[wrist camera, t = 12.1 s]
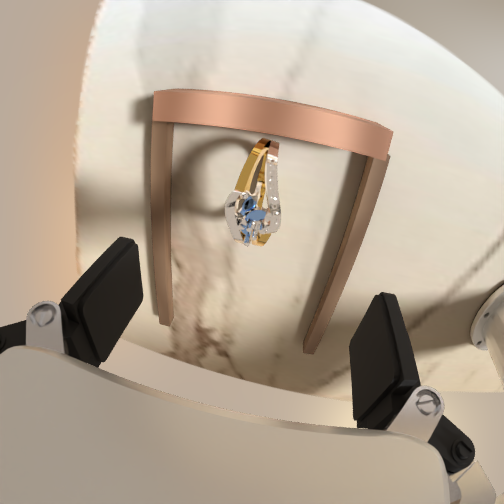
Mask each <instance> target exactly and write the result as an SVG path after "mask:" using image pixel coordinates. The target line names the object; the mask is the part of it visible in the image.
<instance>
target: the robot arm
mask: <svg viewBox="0 0 504 504" xmlns="http://www.w3.org/2000/svg"><path fill="white" fill-rule="evenodd" d="M142 300H143V288H142V280H141V271H140V261H139V251H138V245H137V244H135V241H134V240H133V239H129V238H125V237H119V238H118V239H117V240H116V241H115V242H114V243H113V244H112V245H111V246H110V247H109V248H108V249H107V250H106V251H105V252H104V253H103V254H102V255H101V256H100V257H99V258H98V259H97V260H96V261H95V262H94V263H93V264H92V266H91V267H90V268H89V269H88V270H87V271H86V272H85V273H84V274H83V275H82V276H81V277H80V278H79V280H78V281H77V282H76V283H75V284H74V285H73V287H71V289H70V290H69V291H68V292H67V293H66V294H65V295H64V297H63V298H62V299H61V302H60V304H59V305H57V304H56V303H54V302H52V301H43V302H40V303H37V304H36V305H34V306H33V307H32V308H31V309H30V310H29V312H28V314H27V319H26V320H25V321H21V322H18V323H14V324H10V325H7V326H3V327H0V504H504V493H502V494H500V495H499V496H497V497H496V493H495V490H494V488H493V486H492V485H491V483H490V481H489V479H488V478H487V476H486V474H485V473H484V471H483V469H482V467H481V465H480V464H479V462H478V461H476V462H474V461H473V459H474V457H475V448H474V445H473V443H472V441H471V440H470V439H469V438H468V437H467V436H466V435H465V434H464V433H463V432H462V431H461V430H460V429H458V428H457V427H456V426H455V425H454V424H453V423H452V422H451V421H450V420H448V419H447V418H446V417H445V416H444V415H443V412H444V401H443V398H442V397H441V395H440V393H439V392H438V391H437V390H436V389H434V388H432V387H430V386H421V384H420V379H419V375H418V371H417V366H416V362H415V358H414V354H413V350H412V346H411V343H410V339H409V335H408V333H407V331H406V328H405V324H404V321H403V317H402V314H401V311H400V307H399V304H398V301H397V298H396V296H395V295H394V294H390V293H385V292H381V293H380V294H379V295H375V296H374V298H373V300H372V302H371V304H370V306H369V308H368V310H367V312H366V314H365V316H364V317H363V319H362V321H361V323H360V325H359V327H358V329H357V330H356V332H355V334H354V336H353V338H352V339H351V342H350V346H349V351H350V364H351V380H352V399H353V418H354V420H357V428H344V427H334V426H325V425H315V424H306V423H299V422H292V421H285V420H278V419H272V418H267V417H261V416H256V415H251V414H245V413H241V412H236V411H232V410H227V409H223V408H219V407H215V406H211V405H207V404H203V403H199V402H195V401H192V400H188V399H185V398H181V397H178V396H174V395H171V394H168V393H165V392H162V391H159V390H156V389H153V388H150V387H147V386H144V385H141V384H138V383H135V382H133V381H130V380H127V379H124V378H122V377H119V376H117V375H114V374H112V373H109V372H107V371H104V370H101V369H99V368H98V367H99V365H100V364H101V362H105V361H106V360H107V358H108V356H109V355H110V353H111V351H112V350H113V348H114V346H115V345H116V343H117V341H118V339H119V338H120V336H121V335H122V333H123V331H124V330H125V328H126V327H127V325H128V323H129V322H130V320H131V319H132V317H133V315H134V314H135V312H136V311H137V309H138V308H139V306H140V304H141V303H142ZM470 337H471V339H472V342H473V344H474V346H475V347H476V348H478V349H480V350H488V351H489V353H490V355H491V358H492V360H493V362H494V365H495V367H496V370H497V372H498V375H499V377H500V380H501V383H502V386H503V388H504V285H502V286H501V287H500V288H499V289H497V290H496V291H495V292H494V293H493V294H492V295H491V296H490V297H489V298H488V300H487V301H486V302H485V303H484V304H483V306H482V307H481V308H480V310H479V311H478V313H477V315H476V317H475V319H474V321H473V323H472V326H471V331H470ZM87 363H88V364H87ZM89 364H90V365H89ZM92 365H93V366H92ZM94 366H95V367H94ZM358 428H368V429H358Z"/></svg>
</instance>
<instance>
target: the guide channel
mask: <svg viewBox="0 0 504 504" xmlns="http://www.w3.org/2000/svg"><path fill="white" fill-rule="evenodd" d="M174 122H179V123H191V124H202V125H211V126H220V127H228V128H235V129H242V130H249V131H256V132H262V133H268V134H273V135H279V136H284V137H290V138H295V139H300V140H305V141H309V142H314V143H318V144H323V145H327V146H331V147H336V148H340V149H344V150H348V151H351V152H355V153H359V154H363V155H366V156H368V158H367V162H366V165H365V169H364V172H363V176H362V179H361V183H360V186H359V190H358V193H357V196H356V200H355V203H354V206H353V209H352V212H351V216H350V219H349V222H348V225H347V228H346V231H345V234H344V237H343V240H342V243H341V246H340V249H339V252H338V254H337V257H336V260H335V263H334V266H333V268H332V271H331V274H330V277H329V279H328V282H327V285H326V287H325V290H324V293H323V295H322V298H321V300H320V303H319V305H318V308H317V311H316V313H315V316H314V318H313V320H312V323H311V325H310V328H309V330H308V333H307V335H306V337H305V340H304V342H303V353H307V354H314V352H315V350H316V348H317V346H318V344H319V342H320V340H321V338H322V336H323V334H324V332H325V329H326V327H327V325H328V323H329V321H330V319H331V316H332V314H333V312H334V310H335V307H336V305H337V303H338V301H339V298H340V296H341V294H342V291H343V289H344V287H345V284H346V282H347V279H348V277H349V275H350V272H351V270H352V267H353V265H354V262H355V259H356V257H357V254H358V252H359V249H360V246H361V244H362V241H363V238H364V236H365V233H366V230H367V227H368V225H369V222H370V219H371V216H372V213H373V210H374V207H375V204H376V201H377V198H378V195H379V192H380V189H381V186H382V183H383V180H384V176H385V173H386V170H387V166H388V163H389V159H390V156H389V155H388V151H389V147H390V143H391V139H392V136H393V131H391V130H390V129H388V128H386V127H384V126H382V125H380V124H378V123H376V122H373V121H370V120H366V119H363V118H359V117H356V116H352V115H349V114H345V113H341V112H337V111H333V110H329V109H325V108H320V107H316V106H311V105H307V104H302V103H297V102H291V101H286V100H280V99H274V98H268V97H262V96H255V95H247V94H239V93H231V92H221V91H209V90H195V89H169V90H161V91H154V100H153V115H152V135H151V222H152V243H153V259H154V273H155V285H156V295H157V305H158V314H159V322H160V324H162V325H166V326H170V324H171V322H172V320H173V318H174V313H173V296H172V273H171V169H172V147H173V130H174Z"/></svg>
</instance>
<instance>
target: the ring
mask: <svg viewBox="0 0 504 504" xmlns="http://www.w3.org/2000/svg"><path fill="white" fill-rule="evenodd" d="M278 150H279V142H276V141H273V140H269V139H266V138H262V139H261V140H259V141H258V143H257V144H256V145H255V147H254V148H253V150H252V151H251V153H250V155H249V157H248V159H247V161H246V163H245V165H244V167H243V169H242V171H241V174H240V176H239V179H238V182H237V184H236V187H235V190H234V191H233V192H231V193H230V194H229V196H228V198H227V200H226V203H225V217H226V221H227V224H228V227H229V229H230V232H231V234H232V237H233V239H234V240H235V242H238V243H242V244H244V245H245V246H247V247H248V246H249V244H250V241H252V244H253V245H257V246H263V245H264V244H265V243H266V242H267V240H268V239H269V237H270V235H271V233H275V232H277V231H278V229H279V227H280V224H281V210H280V202H279V193H278V181H277V160H278ZM263 154H264V156H263ZM262 156H263V162H262V167H261V169H260V172H259V175H258V178H257V185H256V189H255V193H254V194H251V193H250V192H249V190H250V186H251V182H252V178H253V175H254V172H255V170H256V167H257V165H258V163H259V161H260V159H261V157H262ZM265 190H266V197H267V204H268V208H266V209H265V208H263V207H262V203H263V198H264V194H265ZM240 199H245V201H244V202H243V204H242V207H241V209H240V210H239V211H238V203H239V201H240Z"/></svg>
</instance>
